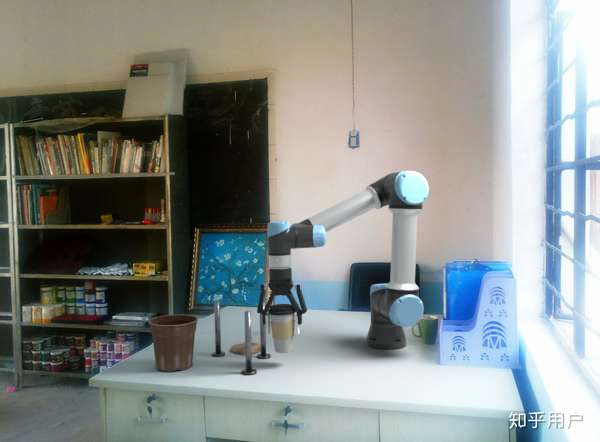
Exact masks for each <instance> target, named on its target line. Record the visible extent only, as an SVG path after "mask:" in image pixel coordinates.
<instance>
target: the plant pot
mask: <svg viewBox="0 0 600 442" xmlns="http://www.w3.org/2000/svg"><path fill="white" fill-rule="evenodd" d="M198 321H199V317H197V316H195V315H191V314H166V315H160V316H155V317H152V318H151V319H149V320H148V324H149V326H150V333H151V335H152V343H153V344H152V345H153V353H154V362H155V363H154V364H155V368H156V369H157V370H158V371H161V372H164V373H165V372H166V373H167V372H169V373H172V372H176V371H177V370H178V371H185V370H187V369H190V368H191V367H193V364H194V362H193V360H194V349H195V335H196V331H197V322H198Z"/></svg>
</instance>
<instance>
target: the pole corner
mask: <svg viewBox="0 0 600 442" xmlns="http://www.w3.org/2000/svg"><path fill="white" fill-rule="evenodd" d="M265 306H266V301H265V300H264V305H263V310H264V308H265ZM259 327H260V328H259V334H260V335H259V336H260V339H259V340H260V342H259V344H261V352H260V353H257V354H256V358H257V359H259V360H267V359H270V358H271V357H272V356H271V355H272V354H271V353H267V335H266V324H263V315H262V314H260V313H259Z"/></svg>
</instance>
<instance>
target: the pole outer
mask: <svg viewBox="0 0 600 442" xmlns="http://www.w3.org/2000/svg"><path fill="white" fill-rule="evenodd" d="M251 314H252V313H251V310H244V340H245V342H244V343H245V352H246V355H245V368H244V369H241V372H240V373H241V375H243V376H255V375H256V374H258V370H257V368H253V357H252V355H253V354H252V344H251V343H252V317H251V316H252V315H251Z"/></svg>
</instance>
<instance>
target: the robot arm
mask: <svg viewBox="0 0 600 442" xmlns="http://www.w3.org/2000/svg"><path fill="white" fill-rule="evenodd" d="M429 189H430V187H429V184H428V181H427V179H426V177H424V176H423V174H422V173H419V172H417V171H414V170H403V171H397V172H392V173H391V172H390V173H388V174H386V175H384V176H383V177H381V178H379V179H378V180H376V181H374V182H373V183H370V184H368V185H367V186H366V187H365V189H364V190H363V191H361V192H359V193H357V194H354V195H352V196H350V197H348V198H347V199H344V200H341V201H340V202H338V203H336V204H334V205H332V206H329V208H326V209H324V210H322V211H320V212H318V213H316V214H314V215H312V216H310V217H308V218H306V219H304V220H301V221H299V222H296V223H295V222H294V223H293V224H291V223H290V221H288V220H275V221H274V220H273V221H270V222H268V223H267V235H266V236H267V250H268V251H267V252H268V254H267V255H268V267H269V269H268V273H269V275H268V276H269V277H268V278H269V281H268V283H264V282H263V283H261V284H260V287H259V288H260V295H259V300H258V303H257V308H256V309H257V310H256V313H258V314H259V315H260V314H262V315H263V324H266V336H267V335H270V334H272V330H271V323H270V321H271V320H270V314H268V310H269V309H270V306H272V305H273V304H272V303H273V301H274V299H275V298H276V296H277V297H278V296H282V297H286V298H287V299H288V301H289V303H290V304H291V305H292V306H293V308H294V310H295V313H296V314H295V318H294V319H295V326H294V332H295V336H299V335H300V326H301V325H302V323H303V314H306V313H307V312H308V308H307V304H306V301H305V297H304V294H303V291H302V290H303V289H302V285H303V284H302V283H301V282H299V283H295V282H293V276H292V275H293V273H292V271H293V270H292V268H291V266H292V251H291V250H292V249H293V250H296V249H311V248H315V249H317V248H323V247H324V246H325V244H326V242H327V232H329V231H332V230H333V229H335V228H337V227H339V226H342V225H343V224H345V223H347V222H349V221H352V220H354V219H355V218H357V217H359V216H361V215H364V214H366V213H368V212H369V211H372V210H373V209H376V210H379V209H382V208H384V207H386V206H388V210H389V211H390V213H391V214H392V226H391V247H390V248H391V250H390V252H391V254H390V275H389V278H390V279H389V280H390V281H389V282H388V283H375V284H371V286H370V290H369V295H370V298H369V300H370V301H369V303H370V305H369V306H370V324H369V328H368V331H367V335H366V338H365V339H366V342H365V343H366V345H367V346H368V347H371V348H375V349H379V350H380V349H381V350H396V349H401V348H404V347H406V346H407V343H408V341H407V339H408V338H407V336H406V333H405V330H404V328H409V327H413V326H415V325H416V324H417V323H419V322H420V321H421V319H422V317H423V315H424V311H425V310H424V308H425V307H424V303H423V301H422V300H421V299H420V288H419V286H418V284H416V264H417V263H416V261H417V258H416V257H417V239H418V237H417V236H418V216H419V214H420V213H421V212H422V211H423V203H424V202H425V200H426V199H427V198H428V195H429V192H430V191H429ZM268 288H269V289H270V290H271V293H270V295H269V297H268V300H267V302H266V303H265V308H264V310H263V305H264V301H265V300H266V299H265V297H266V294H267V290H268ZM292 289H294V290H295V291H296V295H297V299H298V302H299V304H298V302H297V300H296V298H295V296H294V294H293V293H292Z"/></svg>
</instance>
